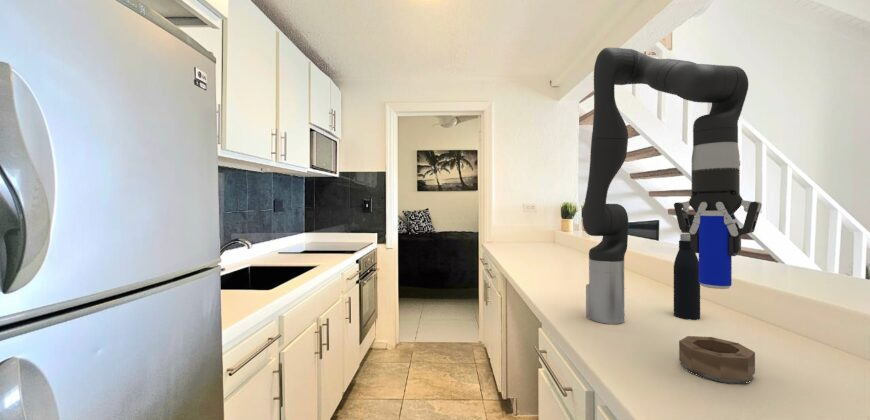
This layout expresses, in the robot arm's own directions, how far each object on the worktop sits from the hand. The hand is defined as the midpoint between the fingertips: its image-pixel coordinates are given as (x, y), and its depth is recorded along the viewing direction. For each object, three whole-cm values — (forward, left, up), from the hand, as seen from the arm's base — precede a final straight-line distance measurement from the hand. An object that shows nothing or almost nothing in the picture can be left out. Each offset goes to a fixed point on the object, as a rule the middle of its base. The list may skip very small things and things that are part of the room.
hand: (714, 253), depth 72 cm
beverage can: (0, 0, -7) cm, 7 cm away
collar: (0, 0, -23) cm, 23 cm away
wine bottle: (-17, +36, -23) cm, 46 cm away
